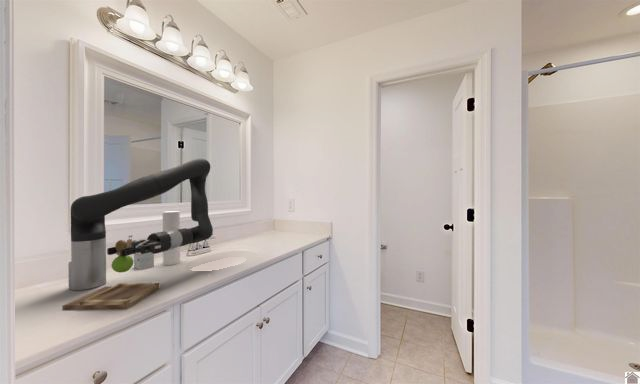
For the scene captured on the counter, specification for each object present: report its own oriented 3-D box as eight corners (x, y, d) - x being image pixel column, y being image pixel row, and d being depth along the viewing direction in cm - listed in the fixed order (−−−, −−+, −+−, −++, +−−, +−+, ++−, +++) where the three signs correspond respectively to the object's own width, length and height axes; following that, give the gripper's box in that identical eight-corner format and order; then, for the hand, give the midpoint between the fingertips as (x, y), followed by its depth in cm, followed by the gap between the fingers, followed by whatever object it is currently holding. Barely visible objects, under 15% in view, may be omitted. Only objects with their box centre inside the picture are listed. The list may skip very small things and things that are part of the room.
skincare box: (133, 267, 109) (133, 251, 109) (149, 264, 114) (148, 248, 114) (139, 270, 105) (138, 253, 105) (154, 266, 110) (154, 250, 110)
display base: (62, 309, 70) (62, 302, 70) (105, 289, 84) (105, 283, 84) (127, 308, 70) (127, 301, 70) (159, 289, 84) (159, 282, 84)
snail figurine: (123, 275, 73) (122, 237, 73) (107, 274, 75) (106, 236, 74) (140, 269, 79) (139, 233, 79) (124, 268, 80) (123, 233, 80)
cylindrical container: (165, 261, 118) (165, 211, 118) (181, 260, 120) (181, 210, 120) (160, 265, 111) (160, 212, 111) (178, 264, 113) (177, 212, 113)
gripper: (151, 230, 93) (99, 239, 77) (179, 232, 88) (129, 241, 72) (152, 249, 93) (100, 262, 77) (179, 252, 88) (129, 266, 72)
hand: (114, 252), depth 74 cm, fingers closed on snail figurine, 5 cm apart
